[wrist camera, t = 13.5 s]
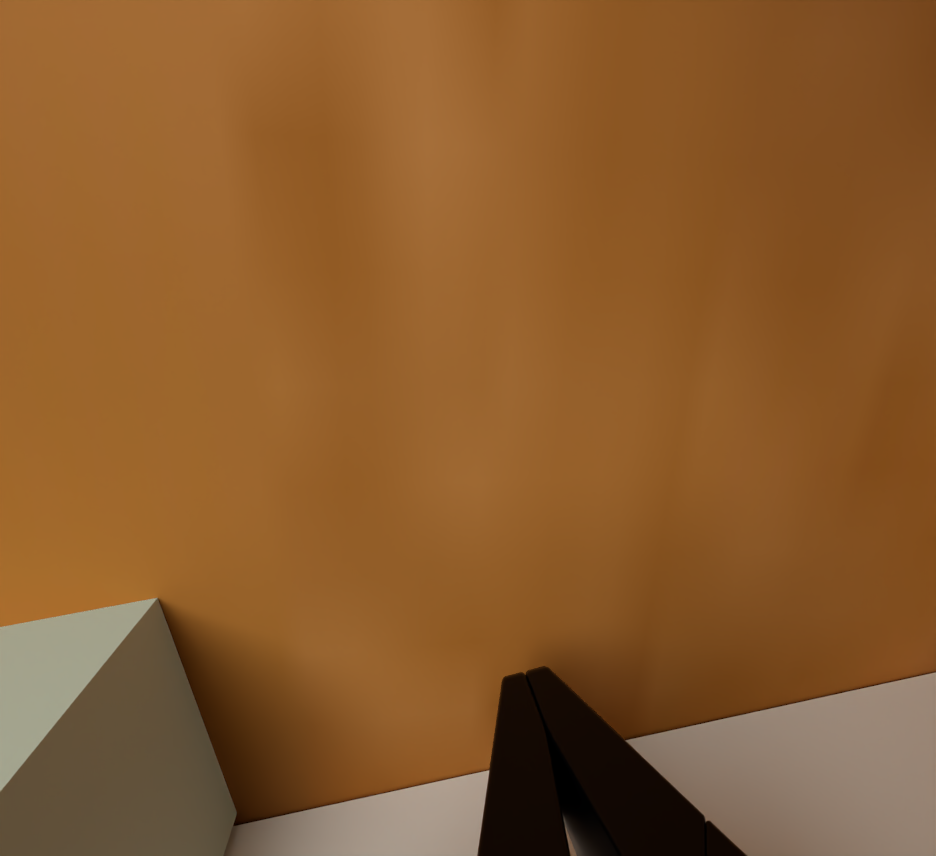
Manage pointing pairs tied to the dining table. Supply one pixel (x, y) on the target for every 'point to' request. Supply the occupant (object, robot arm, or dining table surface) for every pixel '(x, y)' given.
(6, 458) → the dining table surface
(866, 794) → the cleat board
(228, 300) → the dining table surface
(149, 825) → the cabinet block
